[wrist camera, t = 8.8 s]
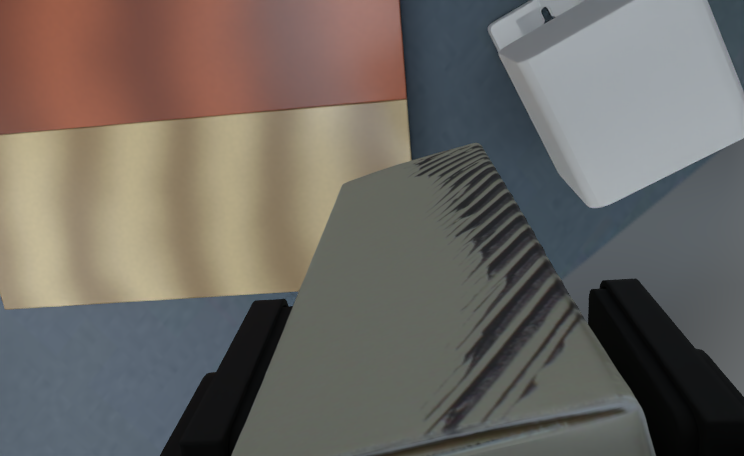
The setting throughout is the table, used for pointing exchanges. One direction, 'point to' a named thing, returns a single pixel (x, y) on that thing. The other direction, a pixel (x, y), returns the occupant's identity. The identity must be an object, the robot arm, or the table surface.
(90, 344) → the table surface
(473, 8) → the table surface
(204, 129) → the sorting board
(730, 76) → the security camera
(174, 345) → the table surface
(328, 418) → the box
